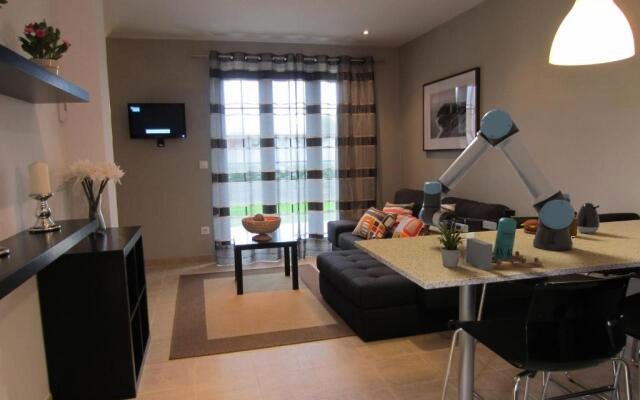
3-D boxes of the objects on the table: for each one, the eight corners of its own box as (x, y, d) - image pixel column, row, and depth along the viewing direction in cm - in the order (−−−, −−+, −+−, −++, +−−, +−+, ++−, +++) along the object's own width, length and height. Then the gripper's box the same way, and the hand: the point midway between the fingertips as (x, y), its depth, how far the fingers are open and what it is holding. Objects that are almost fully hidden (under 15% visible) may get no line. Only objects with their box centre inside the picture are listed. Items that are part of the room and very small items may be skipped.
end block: (473, 261, 167) (473, 238, 166) (491, 269, 155) (492, 244, 154) (465, 262, 166) (466, 238, 165) (483, 270, 155) (484, 244, 154)
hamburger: (548, 233, 222) (548, 220, 221) (532, 235, 219) (533, 221, 218) (534, 230, 231) (534, 218, 230) (518, 232, 228) (519, 219, 227)
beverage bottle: (488, 259, 166) (496, 207, 163) (505, 260, 167) (513, 208, 164) (497, 264, 160) (505, 210, 157) (515, 265, 161) (523, 211, 158)
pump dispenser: (591, 235, 216) (592, 204, 214) (570, 232, 225) (572, 202, 223) (603, 233, 220) (605, 203, 219) (583, 230, 230) (584, 201, 228)
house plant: (421, 267, 160) (421, 222, 158) (433, 259, 172) (433, 217, 170) (461, 272, 152) (462, 225, 151) (471, 263, 164) (472, 219, 162)
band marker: (491, 256, 168) (491, 254, 168) (511, 264, 156) (511, 262, 156) (484, 257, 168) (484, 255, 168) (503, 264, 156) (503, 263, 156)
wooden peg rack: (520, 258, 171) (521, 250, 170) (542, 266, 159) (542, 258, 159) (473, 261, 167) (473, 253, 167) (491, 269, 155) (491, 261, 155)
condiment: (580, 236, 214) (582, 211, 213) (571, 238, 210) (572, 213, 208) (565, 234, 220) (566, 210, 219) (556, 236, 216) (557, 211, 214)
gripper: (469, 226, 193) (506, 235, 174) (421, 231, 184) (454, 240, 164) (469, 209, 192) (507, 215, 173) (421, 213, 183) (455, 220, 164)
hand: (481, 227), depth 169 cm, fingers open, 13 cm apart
